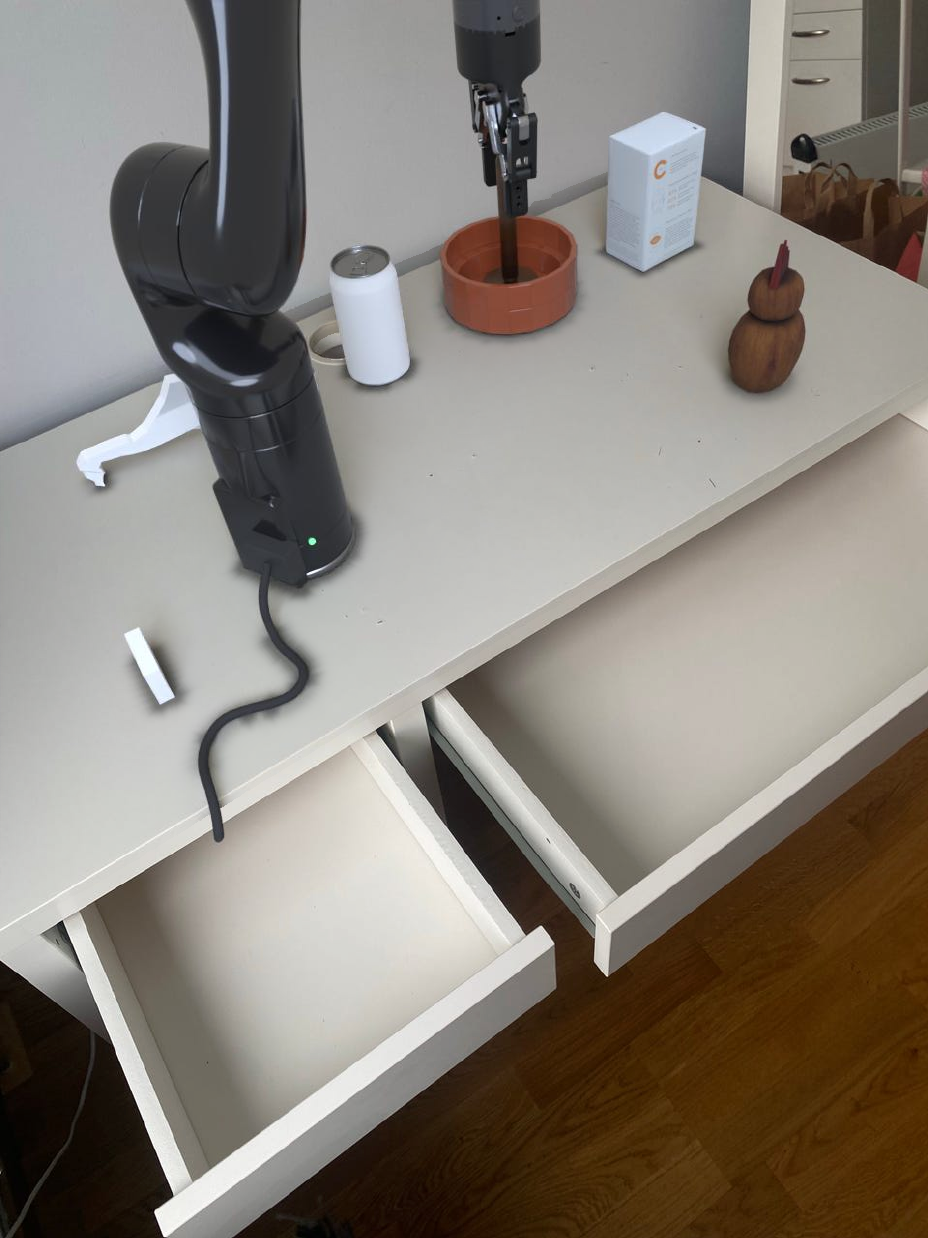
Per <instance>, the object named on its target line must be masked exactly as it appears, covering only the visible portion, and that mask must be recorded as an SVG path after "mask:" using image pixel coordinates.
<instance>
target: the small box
mask: <svg viewBox="0 0 928 1238" xmlns="http://www.w3.org/2000/svg"><path fill="white" fill-rule="evenodd" d="M706 133H707V128H705V127H703V126H701V125H700V124H697V123H694V122H693V121H690V120H688V119H685V118H682V117H680V116H678V115H674V114H672V113H669V112H668V111H667V112H666V111H661V112H659V113H657V114H655V115H653V116H651V117H648V118H646V119H644V120H642V121H640V122H638V123H635V124H633V125H631V126H629V127H627V128H624V129H623V130H619V131H618V132H616V133H613V134H611V135H609V136H608V160H607V162H608V163H607V194H606V231H605V233H606V234H605V252H606V253H607V254H609V255H610V256H612V257H614V258H616V259H618V260H620V261H621V262H623V263H625V264H627V265H629V266H631V267H632V268H634V269H636V270H638V271H641V272H642V273H645V272H646V271H648V270H650V269H652V268H654V267H655V266H657V265H659V264H661V263H663V262H664V261H666V260H668V259H670V258H672V257H674V256H676V255H677V254H679V253H681V252H683V251H685V250H687V249H689V248H691V247H693V246H694V245H695V234H696V226H697V218H698V217H697V215H698V208H699V207H698V206H699V197H700V189H701V181H702V178H701V177H702V171H703V170H702V169H703V161H704V151H705V144H706V143H705V141H706Z"/></svg>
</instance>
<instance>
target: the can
mask: <svg viewBox="0 0 928 1238" xmlns="http://www.w3.org/2000/svg"><path fill="white" fill-rule="evenodd" d="M329 267H330V273H329V278H328V282H329V288H330V289H329V290H330V295H331V299H332V303H333V308H334V314H335V317H336V321H337V327H338V331H339V336H340V340H341V346H342V350H343V354H344V359H345V363H346V368H347V372H348V374H349V376H350V377H351V378H352V379H353V380H355V382H357V383H359V384H361V385H364V386H369V387H380V386H385V385H386V386H387V385H390V384H392V383H394V382H397V381H398V380H400V379H401V378H402V377H403V376H404V375H405V374H406V372H407V371H408V370H409V368H410V365H411V357H410V352H409V344H408V343H409V342H408V336H407V331H406V330H407V329H406V324H405V317H404V309H403V305H402V304H403V303H402V298H401V292H400V285H399V278H398V272H397V269H396V267H395V265H394V264H393V262H392V261H391V256H390V254H389V252H388V251H387V250H386V249H385V248H382V247H381V246H377V245H372V244H370V245H369V244H361V245H355V246H354V245H353V246H351V247H347V248H345V249H342V250H341V251H339V252H337V253H336V254H335V255H334V256H333V257H332V258H331V260H330V263H329Z"/></svg>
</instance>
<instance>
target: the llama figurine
mask: <svg viewBox="0 0 928 1238" xmlns="http://www.w3.org/2000/svg"><path fill="white" fill-rule="evenodd" d="M200 429H201V427H200V424H199V421H198V419H197V416H196V413H195V411H194V408H193V405H192V403H191V400H190V398H189V395H188V393H187V390H186V388H185V386H184V384H183V383H182V381H181V380H180V379H179V378H178V377H177V376H176V375H175V374H174V373H171V374H165V375H164V376H163V379H162V385H161V389H160V392H159V395H158V397H157V399H156V400H155V402H154V403H153V405H152V407H151V408H150V411H149V412H148V413H147V415H146V417H145V418H144V420H143V421H142V423H141V424H140V425H139V426H137V427H136V428H135V429H133V430H132V431H131V432H130V433H123V434H120V435H117V436H115V437H112V438H109V439H107V440H105V441H102V442H100V443H98V444H95V445H93V446H90V447H88V448H85V449H83V450H81V451H80V453H79V454H78V457H77V459H76V462H75V464H76V466H77V468H78V470H79V472H80V473H81V472H82V473H83V474H84V477H86V479H88V480H90V481H92V482H93V483H94V484H95V486H96V487H97V486H98V487H106V484H105V483H104V476H105V474H106V471H105V469H104V468H103V466H102V463H103V462H107V461H111V460H114V459H116V458H119V457H123V456H131V455H135V454H139V453H142V452H146V451H148V450H149V451H150V450H152V449H155V448H156V447H160V446H161V445H163V444H165V443H167V442H169V441H172V440H173V439H175V438H177V437H179V436H181V435H183V434H186V433H187V432H189V431H191V430H200Z"/></svg>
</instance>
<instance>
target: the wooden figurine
mask: <svg viewBox="0 0 928 1238" xmlns="http://www.w3.org/2000/svg"><path fill="white" fill-rule="evenodd" d="M790 251H791V250H790V249H789V246H788V240H787V239H784V241H783V243H780V244H779V248H778V251H777V256H776V260H775V264H774V266H769V267H766V268H763V269H762V270H760V271H759V272H758V273H757V274H756V276H755V277H754V278H753V280H752V282H751V284H750V286H749V289H748V294H747V300H746V301H747V306H748V310H747V311H746V312H745V313H744V314H742V316H740V318H739V320H738V321H737V322H736V324H735V326H734V327H733V329H732V331H731V334H730V337H729V339H728V345H727V356H728V357H727V359H728V363H729V368H730V372H731V375H732V378H733V381H734V382H735V383H736V384H737V385H738V386H739V387H740V388H742V389H743V390H745V391H747V392H750V393H756V394H757V393H759V394H760V393H767V392H770V391H771V392H772V391H773V390H776V389H777V388H779V387H780V386H782V385H783V384H784V383H785V382H786V381H787V380H788V378H789V377H790V375H791V373H792V372H793V370H794V368H795V367H796V364H797V363H798V361H799V358H800V356H801V355H802V352H803V349H804V345H805V342H806V341H805V340H806V332H807V331H806V323H805V319H804V315H803V313H802V312H801V310H800V308H801V306H802V302H803V299H804V297H805V296H804V295H805V289H806V287H805V281H804V278H803V276H802V275H801V274H800V273H799V272H798V271H797V270H796V269H793V268H791V267H790V265H789V264H790V263H789V262H790Z"/></svg>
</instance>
